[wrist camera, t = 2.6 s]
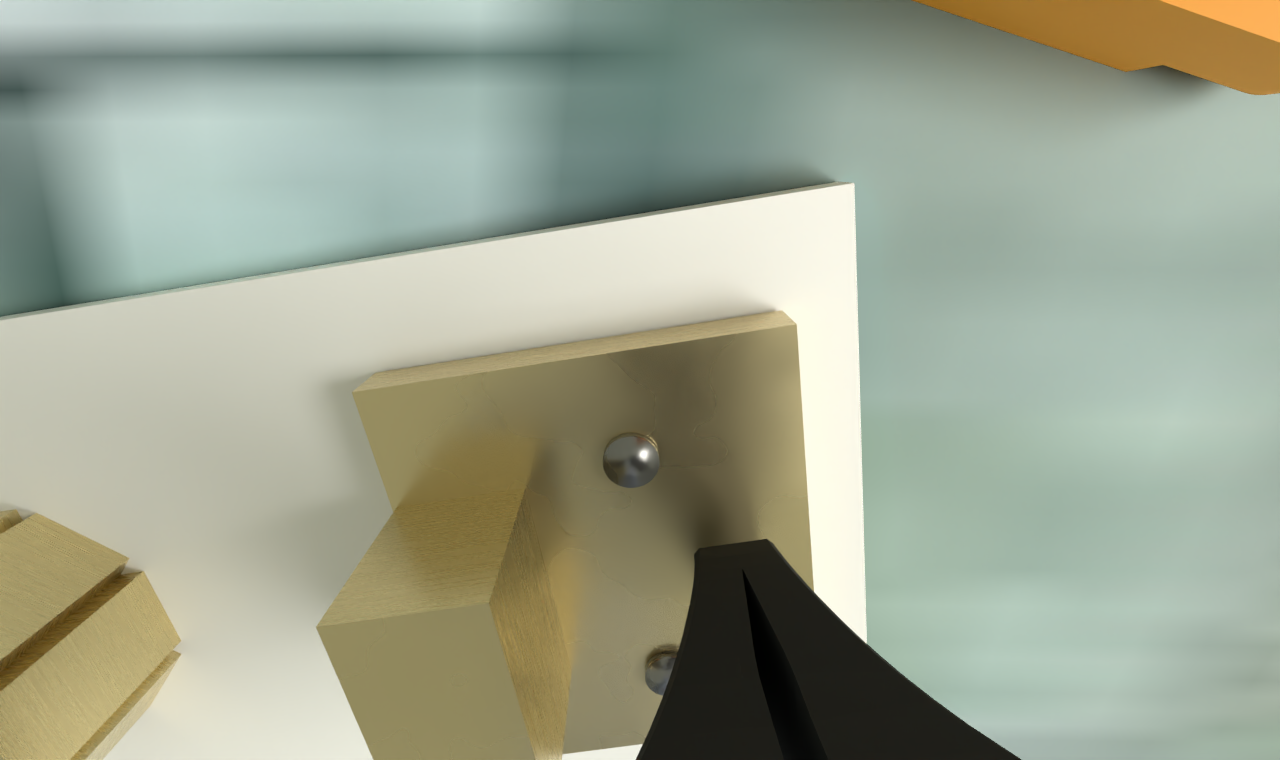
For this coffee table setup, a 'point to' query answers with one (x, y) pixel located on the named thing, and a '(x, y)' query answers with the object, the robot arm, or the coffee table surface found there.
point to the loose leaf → (560, 532)
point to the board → (337, 442)
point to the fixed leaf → (74, 643)
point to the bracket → (1149, 34)
